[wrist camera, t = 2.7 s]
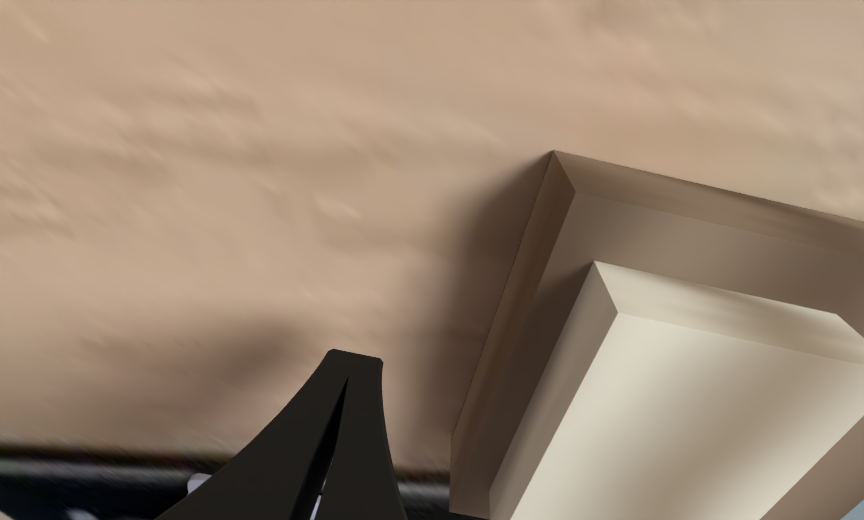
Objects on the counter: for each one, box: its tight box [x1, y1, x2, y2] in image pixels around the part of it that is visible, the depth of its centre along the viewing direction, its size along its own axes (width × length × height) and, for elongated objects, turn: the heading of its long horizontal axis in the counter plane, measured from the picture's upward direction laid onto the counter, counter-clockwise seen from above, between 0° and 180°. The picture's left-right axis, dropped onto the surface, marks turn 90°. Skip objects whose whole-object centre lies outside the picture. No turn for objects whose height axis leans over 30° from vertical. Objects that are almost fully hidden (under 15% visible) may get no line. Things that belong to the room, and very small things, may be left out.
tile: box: [489, 261, 864, 520], centre depth 12 cm, size 6×9×2 cm, turn 168°
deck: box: [449, 150, 864, 520], centre depth 15 cm, size 12×12×3 cm
